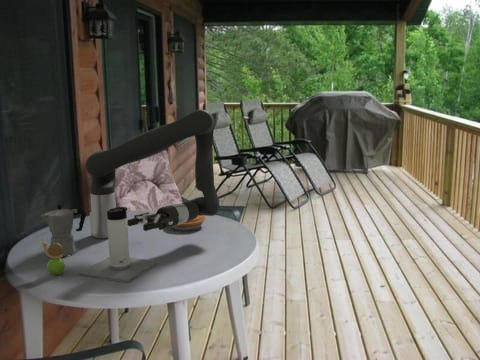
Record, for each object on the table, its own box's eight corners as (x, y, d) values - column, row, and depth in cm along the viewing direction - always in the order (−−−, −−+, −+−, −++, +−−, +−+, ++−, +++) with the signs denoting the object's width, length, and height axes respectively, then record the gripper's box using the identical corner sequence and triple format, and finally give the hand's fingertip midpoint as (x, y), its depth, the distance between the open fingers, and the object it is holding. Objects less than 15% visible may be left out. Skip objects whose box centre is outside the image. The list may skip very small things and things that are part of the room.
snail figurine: (47, 271, 176) (43, 235, 173) (67, 270, 176) (64, 235, 174) (42, 277, 170) (39, 241, 168) (63, 276, 171) (60, 240, 169)
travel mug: (126, 271, 174) (122, 210, 169) (107, 269, 175) (103, 209, 171) (133, 264, 180) (130, 205, 175) (115, 262, 181) (111, 204, 177)
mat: (79, 274, 172) (79, 273, 172) (112, 256, 189) (112, 255, 189) (128, 282, 166) (128, 280, 166) (157, 262, 182) (157, 261, 182)
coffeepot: (45, 260, 186) (40, 209, 182) (42, 252, 194) (38, 203, 191) (91, 253, 192) (87, 204, 189) (86, 245, 201) (83, 198, 197)
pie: (162, 231, 217) (161, 219, 216) (175, 221, 232) (174, 209, 231) (199, 233, 214) (198, 221, 213) (209, 222, 229) (209, 211, 228)
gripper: (159, 202, 196) (122, 211, 184) (186, 208, 186) (149, 218, 175) (160, 222, 197) (123, 232, 185) (186, 229, 188) (150, 240, 176)
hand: (135, 225), depth 180 cm, fingers open, 8 cm apart
